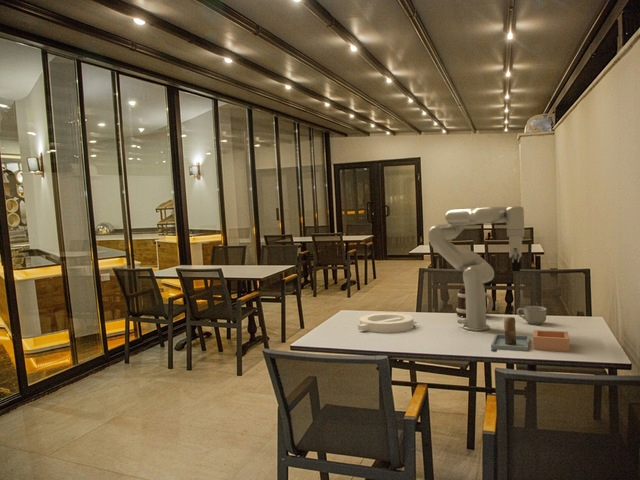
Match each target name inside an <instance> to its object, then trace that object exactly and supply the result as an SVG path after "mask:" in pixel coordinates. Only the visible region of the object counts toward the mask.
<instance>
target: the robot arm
mask: <svg viewBox="0 0 640 480" xmlns="http://www.w3.org/2000/svg"><path fill="white" fill-rule="evenodd" d="M524 212H525V211H524V207H523V206H521V205H520V206H519V205H515V206H490V207H487V206H486V207H476V206H475V207H473V206H471V207H461V208H460V207H459V208H458V207H457V208H451V209H449V210H447V212H445V215H444V216H445V217H444V218H445V221H446V223H443V224H442V223H440V224H435V225H433V226H431V227H430V228H429V230H428V233H427V237H428V241H429V244H430V246H431V248H432V249H433V250H434V251H436V252H437V253H438V254H439V255H440V256H441V257H443V258H444V259H445V261H447V262H448V264H449V265H451V266H452V267H453V268H454V269H455V270H457V271H463V272H462V280H463V285H464V288H465V297H466V318H464V319H461V318H460V319H457V324H459V325H460V324H461V325H463V329H464V330H467V331H475V332H477V331H478V332H481V331H482V332H483V331H484V332H485V331H488V330H490V328H491V326H490V325H489V324H487V312H486V308H487V303H486V302H487V301H486V298H487V297H486V296H485V293H486V290H485V286H484V284H486V283H489V282H491V281H492V280H493V279H494V277H495V271H494V268H493V266H491V265H490V263H488V262H487V261H486V260H485V259H484V258H483V257H481V256H480V255H479V253H477V252H475V251H473V250H461V249H460V248H458V247H457V246H456V245H455V244H453V243H452V242H450V241H451V240H453V239H456V238H457V237H458V236H459V235H460V234H461V233H462V232H463V231H464V229H465V228H466V227H467V226H469V225H470V226H471V225H473V226H474V225H477V224H499V223H500V224H501V223H506V237H507V238H509V239H508V249H509V251H508V253H509V254H508V257H509V259H511V258H512V259H511V260H512V262H511V271H512V272H520V271H521V269H522V261H521V257H522V252H523V238H522V237H525V213H524ZM449 240H450V241H449Z"/></svg>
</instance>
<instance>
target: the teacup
mask: <svg viewBox="0 0 640 480" xmlns="http://www.w3.org/2000/svg"><path fill="white" fill-rule="evenodd" d="M520 311H522V313H523V315H522V314H520ZM516 314H517V315H518V316H519V317H520V318H522V320H525V322H526V323H527V324H531V325H535V324H538V325H542V324H544V323H545V322H546V320H547V308H546V307H544V306H539V305H528V306H524V307H523V308H522V307H518V309H517V310H516Z"/></svg>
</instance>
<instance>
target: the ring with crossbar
mask: <svg viewBox="0 0 640 480" xmlns="http://www.w3.org/2000/svg"><path fill="white" fill-rule="evenodd" d="M413 328H414V317H413V315H410V314H404V313H397V312H396V313H395V312H393V313H392V312H388V313H387V312H383V313H372V314H371V313H370V314H367V315H362V316H361V317H359V324H357V330H358V331H366V332H372V333H388V334H389V333H400V332H404V331H405V332H406V331H410V330H412V329H413Z"/></svg>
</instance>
